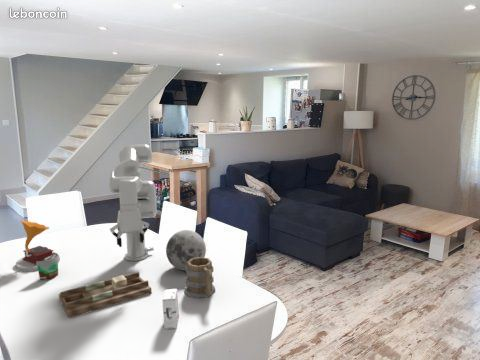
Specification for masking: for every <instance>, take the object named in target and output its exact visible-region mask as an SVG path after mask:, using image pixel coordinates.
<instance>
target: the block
mask: <svg viewBox="0 0 480 360" xmlns="http://www.w3.org/2000/svg"><path fill="white" fill-rule="evenodd" d="M111 279H112V287H113V288H114V289H118V288H122V287H125V286H127V279H126V278H125V277H124V275H123V274H122V275H118V276H115V277H114V276H113V277H111Z"/></svg>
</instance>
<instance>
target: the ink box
mask: <svg viewBox="0 0 480 360" xmlns="http://www.w3.org/2000/svg"><path fill="white" fill-rule="evenodd" d="M162 311H163V325H164V326H163V328H164V329H165V330H169V329H177V328H178V324H179V318H180V312H179V295H178V289H177V288H169V289H168V288H167V289H164V293H163V297H162Z"/></svg>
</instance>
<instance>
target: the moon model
mask: <svg viewBox="0 0 480 360" xmlns="http://www.w3.org/2000/svg"><path fill="white" fill-rule="evenodd" d="M206 247H207V246H206V243H205V240H204V238H203V237H202V236H201V235H200V234H199V233H198V232H196V231H193V230H189V229H184V230H180V231H177V232H175V233H174V234H173V235H172V236H170V238H169V239H168V241H167V244H166V247H165V252H166V253H165V254H166V258H167V260H168V262H169V263H170V264H171V265H172V267H174V268H176V269H178V270H181V271H186V267H187V262H188V261H189V260H190V259H192V258H197V257H200V258H201V257H204V258H206V257H205V256H206V254H207V253H206V252H207V248H206Z"/></svg>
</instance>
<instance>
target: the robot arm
mask: <svg viewBox="0 0 480 360" xmlns="http://www.w3.org/2000/svg"><path fill="white" fill-rule="evenodd" d="M118 158H119V162H120V163H119V164H117V165H116V166H115V167H113V169H112V170H111V172H110V175H109V184H108V185H109V190H110V192H111V193H113V194H119V210H118V211H117V221H116V224H115V225H114V226H112V227H111V228H110V229H109V231H110V232H111V235H113V236H114V237H115V238H116V245H118V246H119V248H122V247H123V245H122V244H123V243H122V241H123V240H122V238H121V237H122V236H123V234H126V235H125V237H126V253H125V254H124V259H125V260H127V261H130V262H132V261H134V262H137V261H142V260H145V259H146V258H148V256H149V252H152V251H154V247H152V246H151V247H150V246H147V247H146V244H145V243H146V242H145V233H146V232H147V231H148V228H149V226H150V223H149V222H146V221H143V220H142V219H145V218H146V219H147V218H148V219H149V218H155V217H156V216H157V211H158V207H157V205H158V204H157V191H156V190H157V188H156V184H155V182H154V181H152V180H142V172H141V170H140V164H141V165H142V164H143V165H145V164H150V163H152V161H153V150H152V148H151V146H150V145H148V144H141V143H140V144H127V145H125V146H124V147H123V148H122V149H120V150H119V153H118ZM138 199H144V200H138ZM145 199H146V200H145ZM116 230H117V231H118V232H117V233H116Z"/></svg>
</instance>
